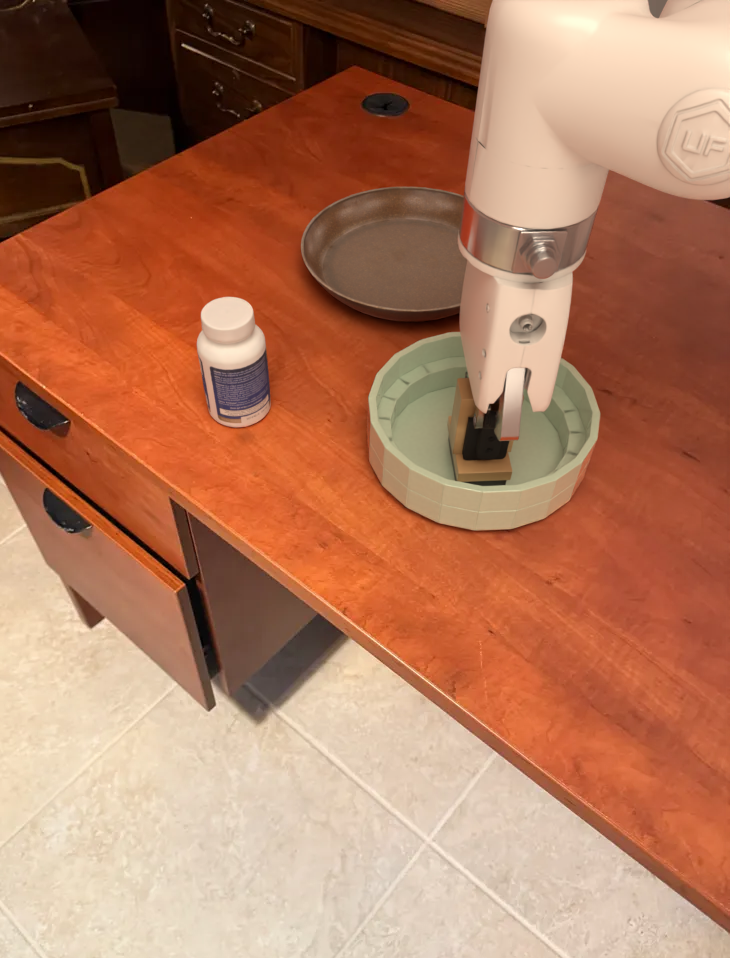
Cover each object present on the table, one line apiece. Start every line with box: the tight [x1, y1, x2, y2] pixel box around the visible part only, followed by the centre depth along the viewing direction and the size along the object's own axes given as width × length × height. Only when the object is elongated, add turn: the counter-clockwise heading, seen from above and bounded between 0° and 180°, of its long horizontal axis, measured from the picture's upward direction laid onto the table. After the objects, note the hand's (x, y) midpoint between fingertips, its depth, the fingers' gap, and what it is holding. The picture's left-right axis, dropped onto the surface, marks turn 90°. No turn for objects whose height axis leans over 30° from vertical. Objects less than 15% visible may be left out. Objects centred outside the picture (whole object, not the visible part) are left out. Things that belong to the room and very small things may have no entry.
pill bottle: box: [196, 296, 272, 428], centre depth 66 cm, size 5×5×10 cm
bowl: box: [366, 331, 601, 532], centre depth 64 cm, size 17×17×5 cm
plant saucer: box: [300, 186, 467, 322], centre depth 79 cm, size 21×21×3 cm
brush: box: [447, 378, 524, 486], centre depth 61 cm, size 6×4×8 cm
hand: (480, 441), depth 62 cm, fingers closed on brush, 2 cm apart
